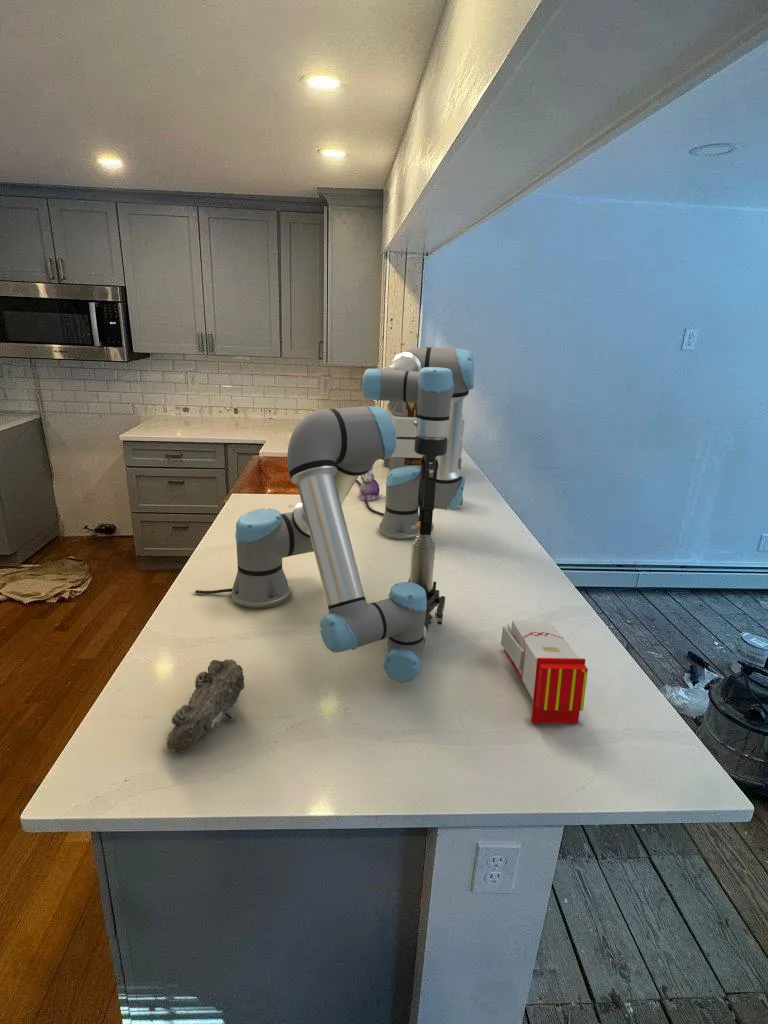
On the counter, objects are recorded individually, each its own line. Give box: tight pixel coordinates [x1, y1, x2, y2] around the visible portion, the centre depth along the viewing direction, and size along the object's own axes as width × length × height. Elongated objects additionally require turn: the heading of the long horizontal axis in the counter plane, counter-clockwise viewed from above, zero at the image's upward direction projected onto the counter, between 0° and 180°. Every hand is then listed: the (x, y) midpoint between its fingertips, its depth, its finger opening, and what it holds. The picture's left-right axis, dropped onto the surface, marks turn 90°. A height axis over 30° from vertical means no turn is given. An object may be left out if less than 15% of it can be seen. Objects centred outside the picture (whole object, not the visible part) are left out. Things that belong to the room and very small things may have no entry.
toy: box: [500, 620, 589, 724], centre depth 121 cm, size 12×13×30 cm
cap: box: [416, 521, 435, 533], centre depth 139 cm, size 4×4×2 cm
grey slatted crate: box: [383, 401, 465, 472], centre depth 268 cm, size 34×33×41 cm
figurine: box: [359, 465, 381, 502], centre depth 233 cm, size 9×10×15 cm
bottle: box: [409, 532, 436, 615], centre depth 143 cm, size 6×6×25 cm
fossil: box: [166, 658, 245, 754], centre depth 106 cm, size 22×10×15 cm
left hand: (422, 584), depth 150 cm, fingers closed on bottle, 6 cm apart
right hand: (424, 529), depth 139 cm, fingers open, 5 cm apart
